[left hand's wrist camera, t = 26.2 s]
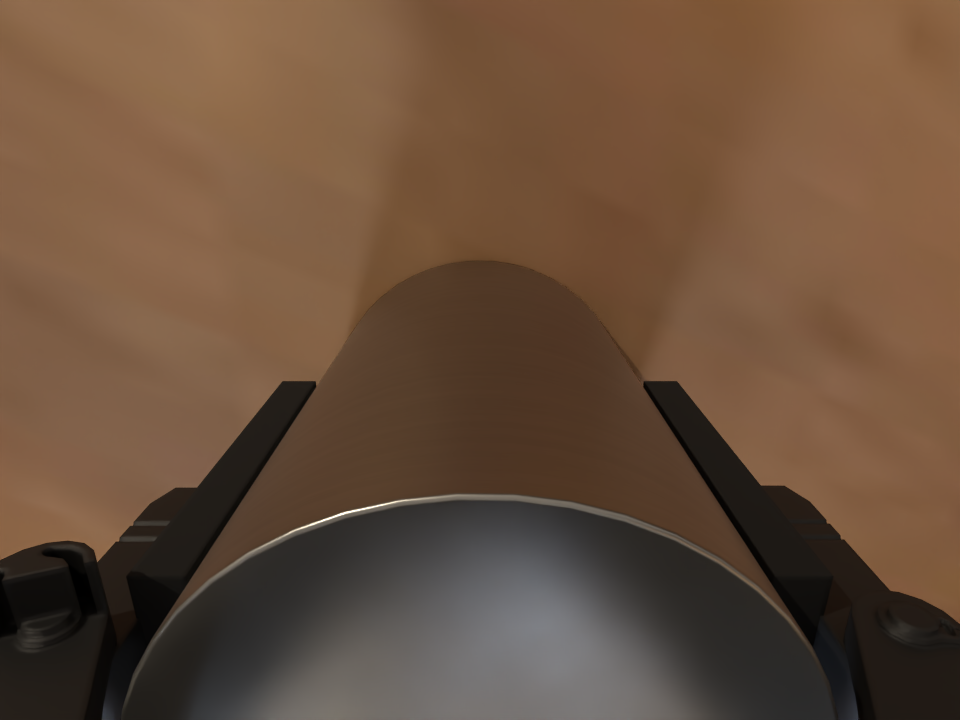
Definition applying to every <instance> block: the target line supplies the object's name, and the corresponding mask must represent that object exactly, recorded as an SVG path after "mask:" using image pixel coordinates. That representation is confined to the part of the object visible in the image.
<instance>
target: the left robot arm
mask: <svg viewBox="0 0 960 720" xmlns="http://www.w3.org/2000/svg"><path fill="white" fill-rule="evenodd" d="M315 388H316V381H282V383H281V384H280V385H279V386H278V388H277V389H276V390H275V391H274V393H273V394H272V395H271V396H270V398H269V399H268V400H267V401H266V403H265V404H264V405H263V406H262V408H261V409H260V410H259V411H258V413H257V414H256V415H255V416H254V418H253V419H252V420H251V421H250V423H249V424H248V425H247V426H246V428H245V429H244V430H243V431H242V433H241V434H240V435H239V436H238V437H237V439H236V440H235V441H234V442H233V444H232V445H231V446H230V447H229V449H228V450H227V451H226V452H225V454H224V455H223V456H222V457H221V459H220V460H219V461H218V462H217V464H216V465H215V466H214V467H213V469H212V470H211V471H210V472H209V474H208V475H207V476H206V477H205V479H204V480H203V481H202V482H201V484H200V485H199V486H198V487H197V488H174V489H173V490H171V491H170V492H168V493H166V494H165V495H163V496H162V497H160V498H158V499H157V500H155V501H154V502H152V503H150V504H149V506H148V507H147V508H146V509H145V510H144V511H143V512H142V513H141V515H140V516H139V517H138V518H137V519H136V520H135V521H134V524H133V526H130V527H129V528H128V529H127V530H126V531H125V532H124V533H123V535H122V536H121V537H120V540H119V542H115V544H114V545H113V546H112V547H111V548H110V549H109V550H108V551H107V552H106V554H105V555H104V556H103V557H102V558H101V559H100V560H99V561H98V562H97V560H96V556H95V553H94V550H93V549H92V548H90V547H89V546H88V545H86V544H85V543H80V542H73V541H61V542H51V543H45V544H41V545H38V546H34V547H31V548H27V549H24V550H21V551H19V552H17V553H15V554H13V555H11V556H8V557H6V558H4V559H2V560H0V720H121V716H122V708H123V705H124V702H125V698H126V695H127V692H128V689H129V686H130V682H131V679H132V676H133V673H134V671H135V669H136V667H137V666H138V664H139V662H140V660H141V658H142V656H143V654H144V652H145V650H146V648H147V647H148V645H149V643H150V641H151V639H152V638H153V636H154V635H155V633H156V632H157V630H158V628H159V627H160V625H161V624H162V622H163V621H164V619H165V618H166V616H167V615H168V613H169V612H170V610H171V609H172V607H173V606H174V604H175V602H176V601H177V599H178V598H179V596H180V595H181V593H182V592H183V590H184V589H185V587H186V586H187V584H188V583H189V581H190V580H191V578H192V576H193V575H194V573H195V572H196V570H197V569H198V567H199V566H200V564H201V563H202V561H203V560H204V558H205V557H206V555H207V554H208V552H209V550H210V549H211V547H212V546H213V544H214V543H215V541H216V540H217V538H218V537H219V535H220V534H221V532H222V531H223V529H224V528H225V526H226V524H227V523H228V521H229V520H230V518H231V517H232V515H233V514H234V512H235V511H236V509H237V508H238V506H239V505H240V503H241V502H242V500H243V498H244V497H245V495H246V494H247V492H248V491H249V489H250V488H251V486H252V485H253V483H254V482H255V480H256V479H257V477H258V476H259V474H260V472H261V471H262V469H263V468H264V466H265V465H266V463H267V462H268V460H269V459H270V457H271V456H272V454H273V453H274V451H275V450H276V448H277V446H278V445H279V443H280V442H281V440H282V439H283V437H284V436H285V434H286V433H287V431H288V430H289V428H290V427H291V425H292V424H293V422H294V420H295V419H296V417H297V416H298V414H299V413H300V411H301V410H302V408H303V407H304V405H305V404H306V402H307V401H308V399H309V397H310V396H311V394H312V393H313V391H314V390H315ZM643 388H644V389H645V391H646V392H647V394H648V395H649V397H650V398H651V400H652V401H653V403H654V405H655V406H656V408H657V409H658V411H659V412H660V414H661V415H662V417H663V418H664V420H665V421H666V423H667V424H668V426H669V428H670V429H671V431H672V432H673V434H674V435H675V437H676V438H677V440H678V441H679V443H680V444H681V446H682V447H683V449H684V451H685V452H686V454H687V455H688V457H689V458H690V460H691V461H692V463H693V464H694V466H695V467H696V469H697V471H698V472H699V474H700V475H701V477H702V478H703V480H704V481H705V483H706V484H707V486H708V487H709V489H710V490H711V492H712V494H713V495H714V497H715V498H716V500H717V501H718V503H719V504H720V506H721V507H722V509H723V510H724V512H725V513H726V515H727V517H728V518H729V520H730V521H731V523H732V524H733V526H734V527H735V529H736V530H737V532H738V533H739V535H740V537H741V538H742V540H743V541H744V543H745V544H746V546H747V547H748V549H749V550H750V552H751V553H752V555H753V556H754V558H755V560H756V561H757V563H758V564H759V566H760V567H761V569H762V570H763V572H764V573H765V575H766V576H767V578H768V579H769V581H770V583H771V584H772V586H773V587H774V589H775V590H776V592H777V593H778V595H779V596H780V598H781V599H782V601H783V603H784V604H785V606H786V607H787V609H788V610H789V612H790V613H791V615H792V616H793V618H794V619H795V621H796V622H797V624H798V626H799V627H800V629H801V630H802V632H803V633H804V635H805V636H806V638H807V639H808V641H809V642H810V644H811V645H812V647H813V649H814V651H815V653H816V655H817V657H818V659H819V662H820V664H821V666H822V668H823V670H824V672H825V674H826V676H827V678H828V680H829V683H830V687H831V691H832V694H833V698H834V702H835V706H836V710H837V714H838V718H839V720H960V624H959V623H958V622H956V621H955V620H954V619H953V618H951V617H950V616H949V615H948V614H946V613H945V612H944V611H942V610H940V609H938V608H937V607H935V606H933V605H931V604H929V603H927V602H925V601H923V600H921V599H918V598H915V597H912V596H909V595H906V594H903V593H900V592H893V591H890V590H889V589H888V588H887V587H886V586H885V584H884V583H883V582H882V581H881V580H880V579H879V578H878V577H877V576H876V574H875V573H874V572H873V571H872V570H871V569H870V568H869V567H868V566H867V565H866V563H865V562H864V561H863V560H862V559H861V558H860V557H859V556H858V555H857V553H856V552H855V551H854V550H853V549H852V548H851V547H850V546H849V545H848V543H847V542H846V541H845V540H841V538H840V535H839V533H838V532H837V531H836V530H835V529H834V528H833V527H832V526H831V525H830V524H827V522H826V519H825V518H824V517H823V516H822V515H821V514H820V512H819V511H818V510H817V509H816V508H815V507H814V506H813V505H812V504H811V502H810V501H808V500H806V499H805V498H803V497H802V496H800V495H798V494H797V493H795V492H793V491H792V490H790V489H789V488H787V487H785V486H761V485H760V484H759V483H758V482H757V480H756V479H755V478H754V477H753V475H752V474H751V473H750V472H749V470H748V469H747V468H746V467H745V465H744V464H743V463H742V462H741V460H740V459H739V458H738V457H737V455H736V454H735V453H734V452H733V450H732V449H731V448H730V447H729V445H728V444H727V443H726V442H725V441H724V439H723V438H722V437H721V436H720V434H719V433H718V432H717V431H716V429H715V428H714V427H713V426H712V424H711V423H710V422H709V421H708V419H707V418H706V417H705V416H704V414H703V413H702V412H701V411H700V409H699V408H698V407H697V406H696V404H695V403H694V402H693V401H692V399H691V398H690V397H689V396H688V394H687V393H686V392H685V391H684V389H683V388H682V387H681V386H680V384H679V383H678V382H677V381H644V386H643Z"/></svg>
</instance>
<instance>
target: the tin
mask: <svg viewBox="0 0 960 720" xmlns="http://www.w3.org/2000/svg"><path fill="white" fill-rule="evenodd" d="M121 720H839V718H838V714H837V710H836V706H835V702H834V698H833V694H832V691H831V687H830V683H829V680H828V678H827V676H826V674H825V672H824V670H823V668H822V666H821V664H820V662H819V659H818V657H817V655H816V653H815V651H814V649H813V647H812V645H811V644H810V642H809V641H808V639H807V638H806V636H805V635H804V633H803V632H802V630H801V629H800V627H799V626H798V624H797V622H796V621H795V619H794V618H793V616H792V615H791V613H790V612H789V610H788V609H787V607H786V606H785V604H784V603H783V601H782V599H781V598H780V596H779V595H778V593H777V592H776V590H775V589H774V587H773V586H772V584H771V583H770V581H769V579H768V578H767V576H766V575H765V573H764V572H763V570H762V569H761V567H760V566H759V564H758V563H757V561H756V560H755V558H754V556H753V555H752V553H751V552H750V550H749V549H748V547H747V546H746V544H745V543H744V541H743V540H742V538H741V537H740V535H739V533H738V532H737V530H736V529H735V527H734V526H733V524H732V523H731V521H730V520H729V518H728V517H727V515H726V513H725V512H724V510H723V509H722V507H721V506H720V504H719V503H718V501H717V500H716V498H715V497H714V495H713V494H712V492H711V490H710V489H709V487H708V486H707V484H706V483H705V481H704V480H703V478H702V477H701V475H700V474H699V472H698V471H697V469H696V467H695V466H694V464H693V463H692V461H691V460H690V458H689V457H688V455H687V454H686V452H685V451H684V449H683V447H682V446H681V444H680V443H679V441H678V440H677V438H676V437H675V435H674V434H673V432H672V431H671V429H670V428H669V426H668V424H667V423H666V421H665V420H664V418H663V417H662V415H661V414H660V412H659V411H658V409H657V408H656V406H655V405H654V403H653V401H652V400H651V398H650V397H649V395H648V394H647V392H646V391H645V389H644V388H643V386H642V385H641V383H640V381H639V380H638V378H637V377H636V375H635V374H634V372H633V371H632V369H631V368H630V366H629V365H628V363H627V362H626V360H625V358H624V357H623V355H622V354H621V352H620V351H619V349H618V348H617V346H616V345H615V343H614V342H613V340H612V338H611V337H610V335H609V334H608V332H607V331H606V329H605V328H604V326H603V325H602V324H601V322H600V321H599V319H598V318H597V316H596V315H595V314H594V312H593V311H592V310H591V309H590V308H589V307H588V306H587V305H586V304H585V303H584V302H583V301H582V300H581V299H580V298H579V297H578V296H576V295H575V294H574V293H573V292H571V291H570V290H569V289H568V288H566V287H565V286H563V285H561V284H560V283H558V282H556V281H555V280H553V279H551V278H550V277H547V276H545V275H543V274H540V273H538V272H536V271H534V270H531V269H527V268H524V267H520V266H517V265H513V264H508V263H501V262H494V261H467V262H459V263H451V264H447V265H443V266H439V267H435V268H432V269H429V270H427V271H424V272H422V273H419V274H417V275H414V276H412V277H410V278H409V279H407V280H405V281H403V282H402V283H400V284H398V285H396V286H395V287H394V288H392V289H391V290H390V291H388V292H387V293H386V294H384V295H383V296H382V297H381V298H380V299H379V300H378V301H377V302H376V303H375V304H374V305H373V306H372V307H371V308H370V309H369V310H368V311H367V312H366V314H365V315H364V316H363V318H362V319H361V320H360V322H359V323H358V324H357V326H356V327H355V329H354V330H353V332H352V333H351V335H350V336H349V338H348V339H347V341H346V342H345V344H344V345H343V347H342V349H341V350H340V352H339V353H338V355H337V356H336V358H335V359H334V361H333V362H332V364H331V365H330V367H329V368H328V370H327V371H326V373H325V375H324V376H323V378H322V379H321V381H320V382H319V384H318V385H317V387H316V388H315V390H314V391H313V393H312V394H311V396H310V397H309V399H308V401H307V402H306V404H305V405H304V407H303V408H302V410H301V411H300V413H299V414H298V416H297V417H296V419H295V420H294V422H293V424H292V425H291V427H290V428H289V430H288V431H287V433H286V434H285V436H284V437H283V439H282V440H281V442H280V443H279V445H278V446H277V448H276V450H275V451H274V453H273V454H272V456H271V457H270V459H269V460H268V462H267V463H266V465H265V466H264V468H263V469H262V471H261V472H260V474H259V476H258V477H257V479H256V480H255V482H254V483H253V485H252V486H251V488H250V489H249V491H248V492H247V494H246V495H245V497H244V498H243V500H242V502H241V503H240V505H239V506H238V508H237V509H236V511H235V512H234V514H233V515H232V517H231V518H230V520H229V521H228V523H227V524H226V526H225V528H224V529H223V531H222V532H221V534H220V535H219V537H218V538H217V540H216V541H215V543H214V544H213V546H212V547H211V549H210V550H209V552H208V554H207V555H206V557H205V558H204V560H203V561H202V563H201V564H200V566H199V567H198V569H197V570H196V572H195V573H194V575H193V576H192V578H191V580H190V581H189V583H188V584H187V586H186V587H185V589H184V590H183V592H182V593H181V595H180V596H179V598H178V599H177V601H176V602H175V604H174V606H173V607H172V609H171V610H170V612H169V613H168V615H167V616H166V618H165V619H164V621H163V622H162V624H161V625H160V627H159V628H158V630H157V632H156V633H155V635H154V636H153V638H152V639H151V641H150V643H149V645H148V647H147V648H146V650H145V652H144V654H143V656H142V658H141V660H140V662H139V664H138V666H137V667H136V669H135V671H134V673H133V676H132V679H131V682H130V686H129V689H128V692H127V695H126V698H125V702H124V705H123V708H122V716H121Z"/></svg>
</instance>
